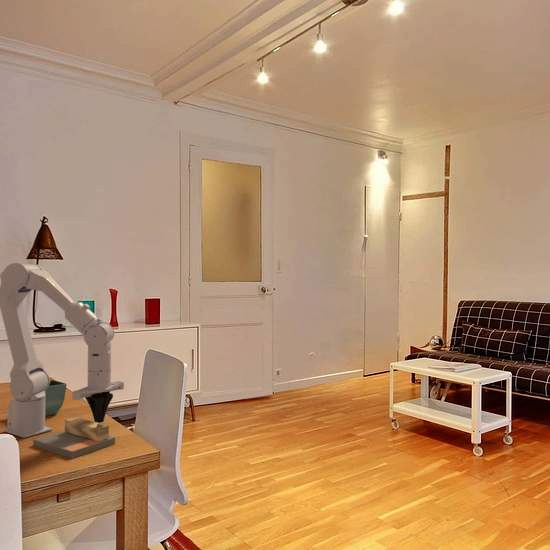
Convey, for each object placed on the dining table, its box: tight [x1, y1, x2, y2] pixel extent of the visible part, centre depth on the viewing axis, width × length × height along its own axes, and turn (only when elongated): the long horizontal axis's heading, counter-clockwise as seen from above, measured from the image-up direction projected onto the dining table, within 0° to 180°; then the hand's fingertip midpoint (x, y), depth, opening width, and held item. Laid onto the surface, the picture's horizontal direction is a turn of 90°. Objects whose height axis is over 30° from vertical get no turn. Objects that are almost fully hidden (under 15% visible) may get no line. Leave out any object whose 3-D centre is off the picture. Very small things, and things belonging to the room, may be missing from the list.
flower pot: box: [45, 379, 68, 417], centre depth 149 cm, size 9×9×9 cm
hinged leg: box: [64, 416, 110, 441], centre depth 125 cm, size 13×3×4 cm, turn 57°
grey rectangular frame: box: [32, 429, 116, 460], centre depth 123 cm, size 15×12×2 cm
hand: (99, 421), depth 132 cm, fingers closed
